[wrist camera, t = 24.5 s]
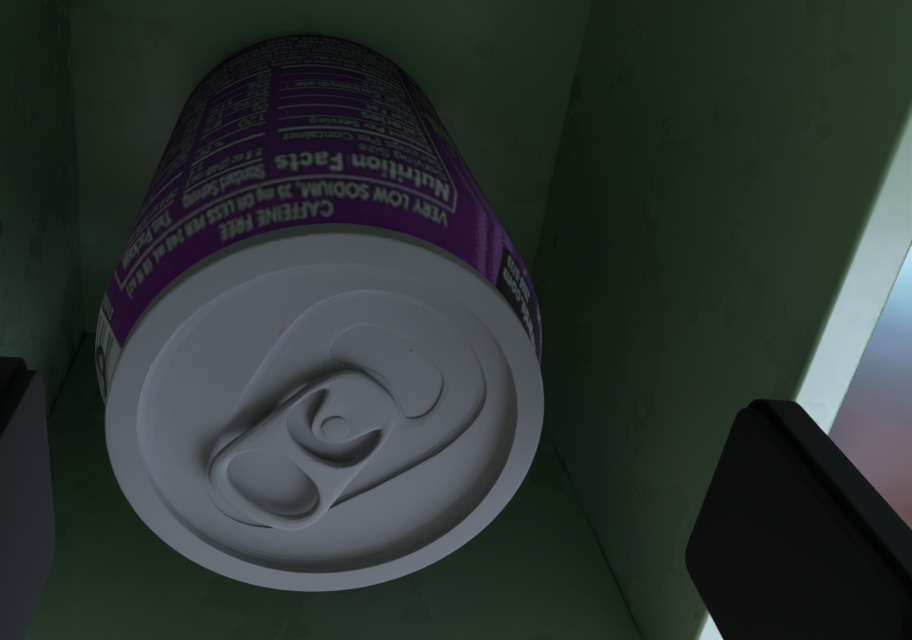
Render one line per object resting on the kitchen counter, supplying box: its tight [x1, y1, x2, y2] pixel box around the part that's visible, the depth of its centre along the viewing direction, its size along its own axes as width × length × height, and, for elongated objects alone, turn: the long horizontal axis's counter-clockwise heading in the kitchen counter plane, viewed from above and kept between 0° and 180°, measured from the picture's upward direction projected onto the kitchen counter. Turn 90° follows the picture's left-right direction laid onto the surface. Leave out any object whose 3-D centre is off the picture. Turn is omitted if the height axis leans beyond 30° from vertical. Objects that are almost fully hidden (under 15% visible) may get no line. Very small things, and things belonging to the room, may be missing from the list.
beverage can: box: [95, 34, 544, 591], centre depth 17 cm, size 7×7×12 cm
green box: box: [0, 0, 912, 640], centre depth 16 cm, size 16×14×13 cm
